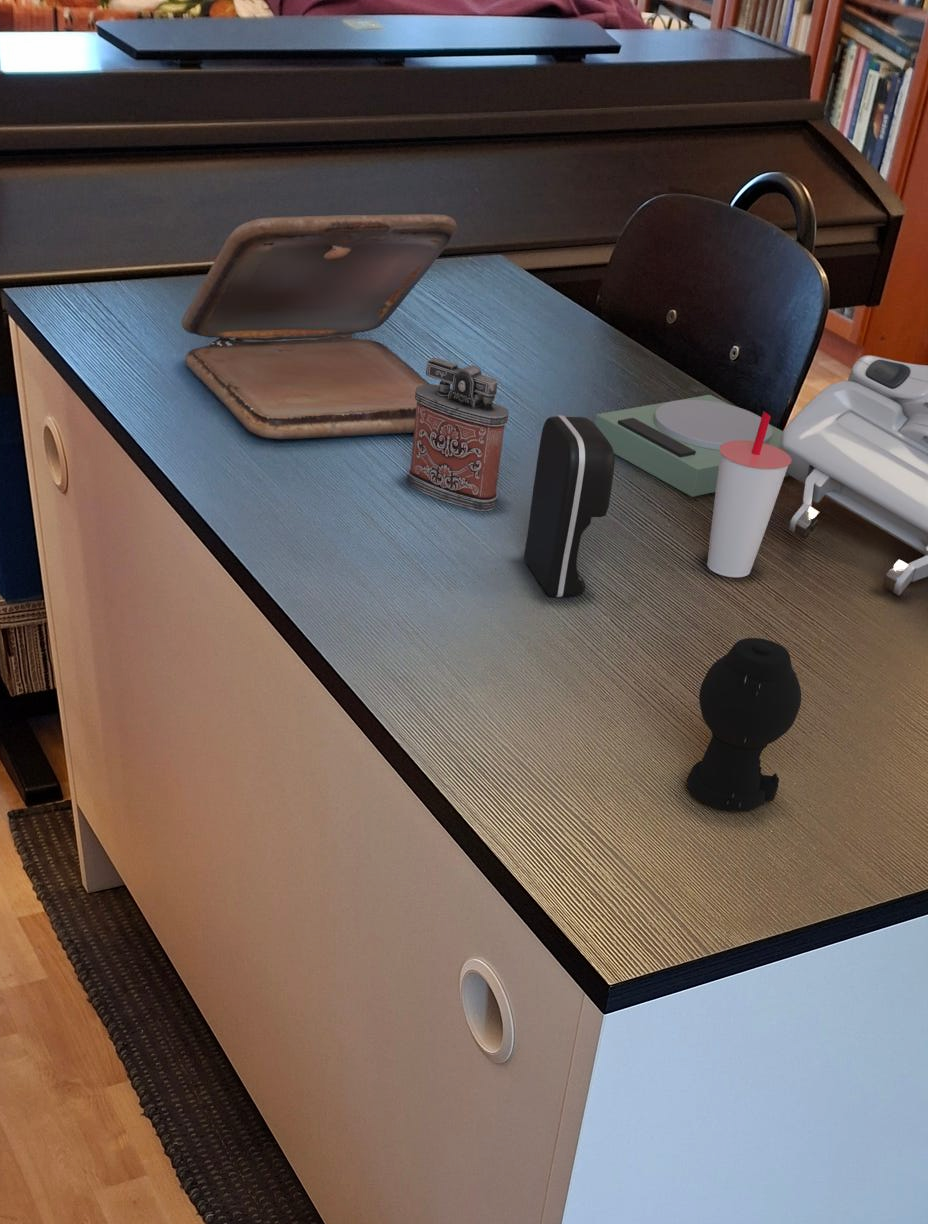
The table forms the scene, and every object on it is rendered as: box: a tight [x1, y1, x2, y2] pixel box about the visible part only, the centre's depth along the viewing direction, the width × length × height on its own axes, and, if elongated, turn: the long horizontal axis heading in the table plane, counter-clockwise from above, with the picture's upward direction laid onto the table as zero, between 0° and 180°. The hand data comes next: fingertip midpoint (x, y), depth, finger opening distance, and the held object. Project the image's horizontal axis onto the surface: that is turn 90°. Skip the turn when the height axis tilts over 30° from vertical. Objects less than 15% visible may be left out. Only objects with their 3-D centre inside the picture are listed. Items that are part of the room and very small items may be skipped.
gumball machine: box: [686, 627, 802, 819], centre depth 94 cm, size 7×6×10 cm
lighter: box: [406, 356, 510, 512], centre depth 125 cm, size 8×3×10 cm, turn 58°
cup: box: [706, 410, 791, 578], centre depth 119 cm, size 5×5×12 cm
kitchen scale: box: [594, 394, 791, 498], centre depth 139 cm, size 14×13×3 cm
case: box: [181, 213, 458, 440], centre depth 136 cm, size 20×21×16 cm
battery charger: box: [523, 414, 616, 598], centre depth 115 cm, size 7×4×11 cm, turn 15°
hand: (843, 558), depth 123 cm, fingers open, 7 cm apart
